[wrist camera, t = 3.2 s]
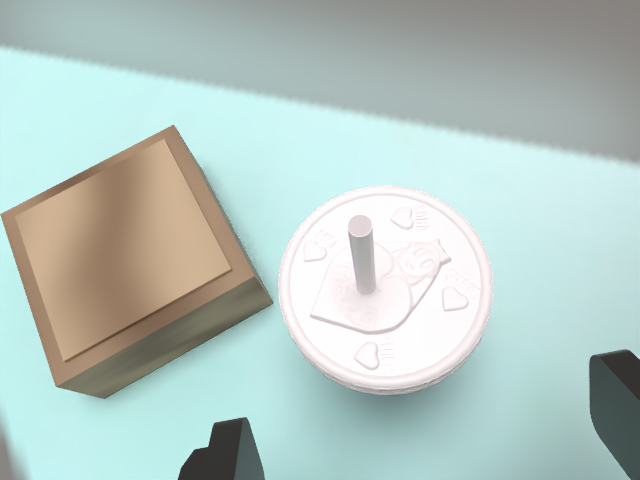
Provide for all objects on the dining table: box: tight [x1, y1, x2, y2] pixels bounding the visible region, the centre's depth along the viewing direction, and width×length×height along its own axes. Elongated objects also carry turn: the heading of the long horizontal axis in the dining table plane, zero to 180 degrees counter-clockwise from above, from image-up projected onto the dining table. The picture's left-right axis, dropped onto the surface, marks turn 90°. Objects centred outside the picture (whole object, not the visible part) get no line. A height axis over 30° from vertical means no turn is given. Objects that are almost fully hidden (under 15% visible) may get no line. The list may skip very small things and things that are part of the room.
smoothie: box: [278, 186, 494, 395], centre depth 18 cm, size 6×6×14 cm
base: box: [0, 125, 273, 399], centre depth 25 cm, size 9×9×4 cm
